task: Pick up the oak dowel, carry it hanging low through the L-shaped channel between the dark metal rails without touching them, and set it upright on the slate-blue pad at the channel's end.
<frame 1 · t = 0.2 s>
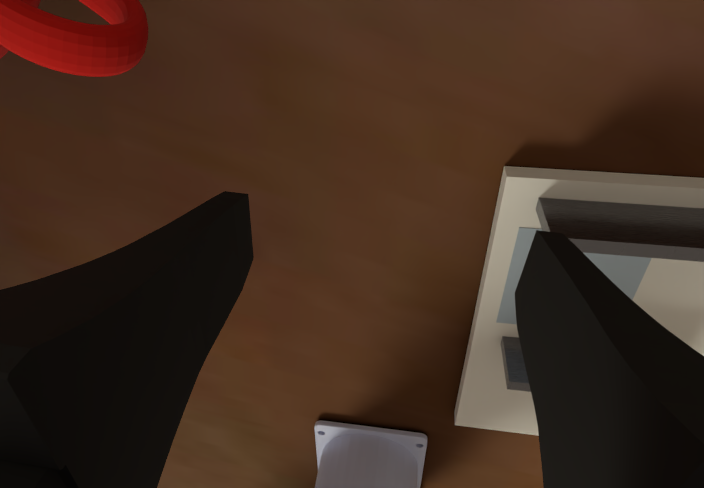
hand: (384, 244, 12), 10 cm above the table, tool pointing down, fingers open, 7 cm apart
track board: (652, 330, 25), on the table
metal rails: (680, 364, 23), on the track board, point 2 cm above the table
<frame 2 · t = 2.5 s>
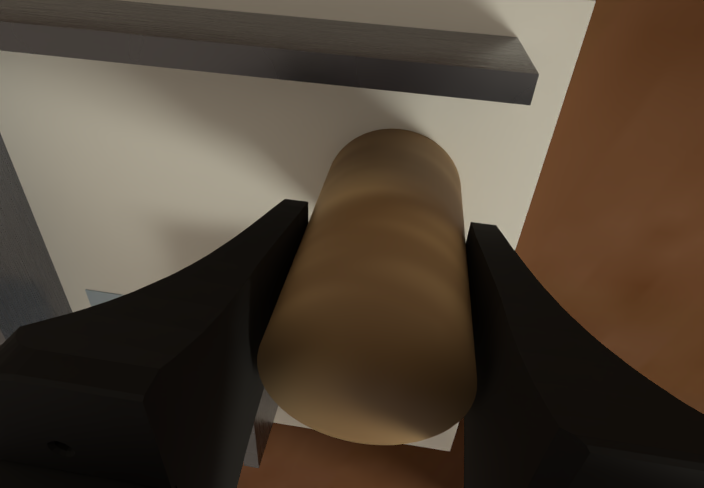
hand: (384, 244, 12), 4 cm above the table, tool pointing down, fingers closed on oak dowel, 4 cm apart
track board: (249, 250, 18), on the table
metal rails: (216, 287, 16), on the track board, point 2 cm above the table
oak dowel: (392, 192, 14), point 1 cm above the table, touching gripper, track board
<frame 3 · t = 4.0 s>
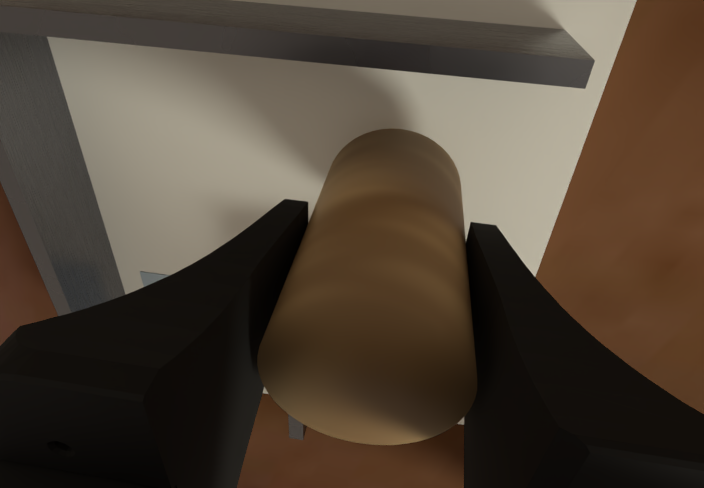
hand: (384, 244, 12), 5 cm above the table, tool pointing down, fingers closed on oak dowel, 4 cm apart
track board: (297, 233, 19), on the table
metal rails: (272, 265, 17), on the track board, point 2 cm above the table
oak dowel: (392, 192, 14), point 3 cm above the table, touching gripper
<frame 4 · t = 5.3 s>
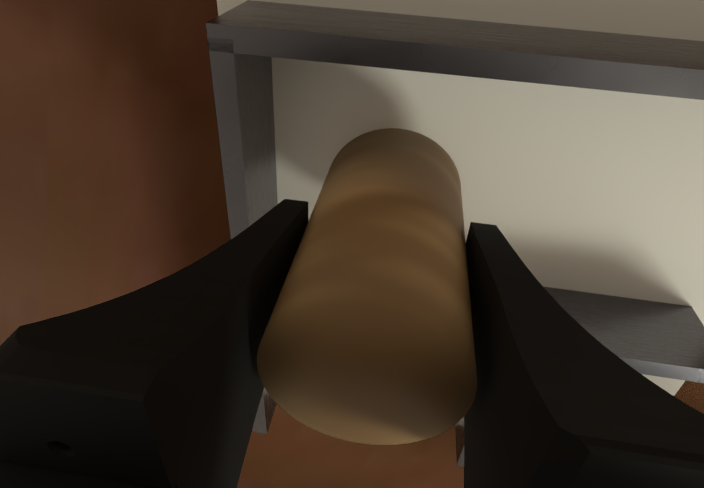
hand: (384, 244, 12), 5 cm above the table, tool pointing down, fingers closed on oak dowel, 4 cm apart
track board: (477, 256, 18), on the table
metal rails: (475, 292, 16), on the track board, point 2 cm above the table
oak dowel: (392, 191, 14), point 2 cm above the table, touching gripper
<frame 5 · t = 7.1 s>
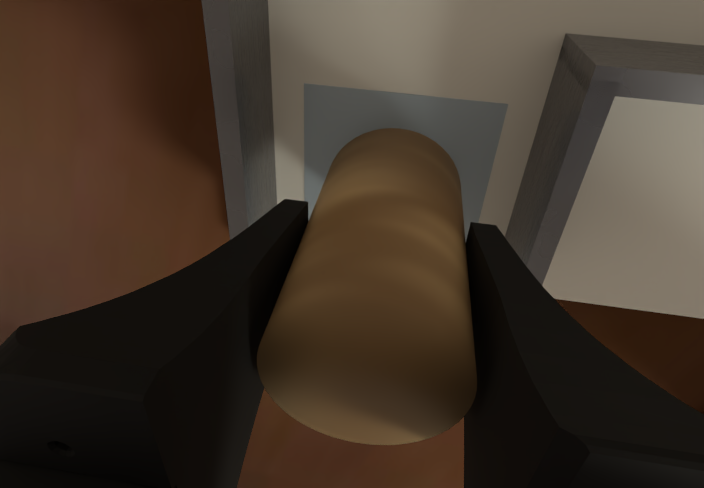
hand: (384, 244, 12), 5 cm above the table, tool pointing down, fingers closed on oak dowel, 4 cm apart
track board: (542, 13, 13), on the table
metal rails: (551, 19, 11), on the track board, point 2 cm above the table
oak dowel: (392, 191, 14), point 2 cm above the table, touching gripper
when the fingers open (5 cm above the table, at t = 8.4 s): oak dowel stays where it is, resting on track board.
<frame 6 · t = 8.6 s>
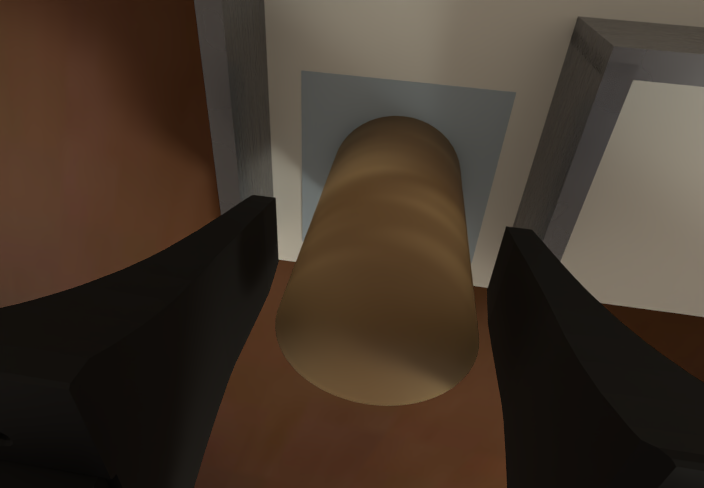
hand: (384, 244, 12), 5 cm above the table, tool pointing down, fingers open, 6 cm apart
oak dowel: (395, 177, 15), point 1 cm above the table, touching track board
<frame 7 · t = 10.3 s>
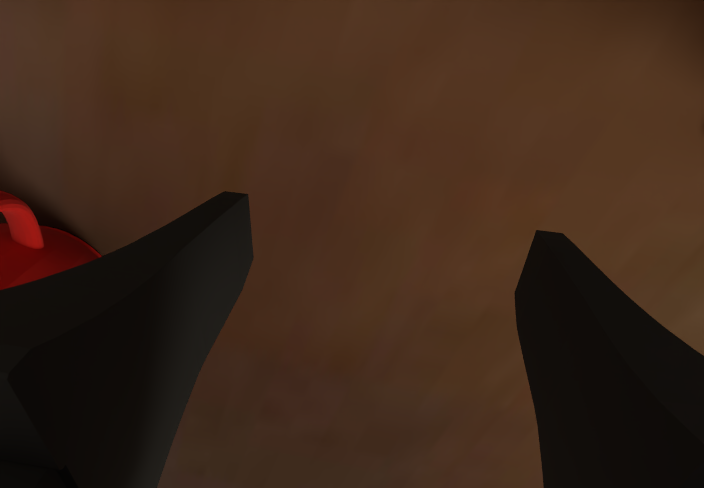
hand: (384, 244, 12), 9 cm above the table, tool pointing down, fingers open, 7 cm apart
ceramic cup: (69, 246, 27), on the table
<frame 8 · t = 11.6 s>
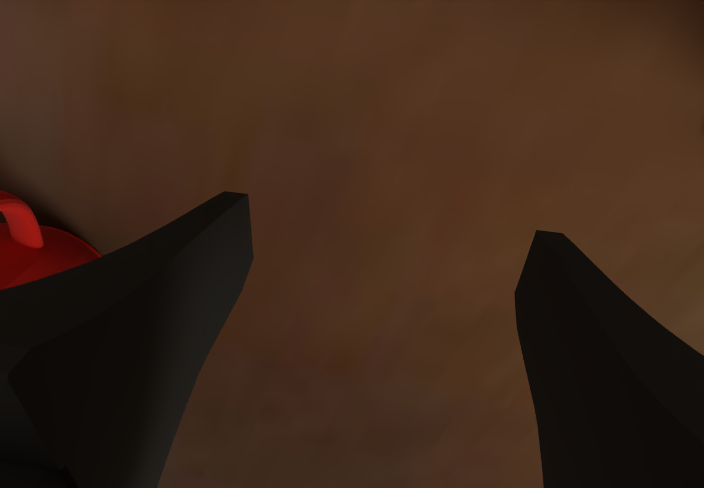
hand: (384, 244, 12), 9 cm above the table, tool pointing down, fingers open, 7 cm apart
ceramic cup: (69, 246, 27), on the table
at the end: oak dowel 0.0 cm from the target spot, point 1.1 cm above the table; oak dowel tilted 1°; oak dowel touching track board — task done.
